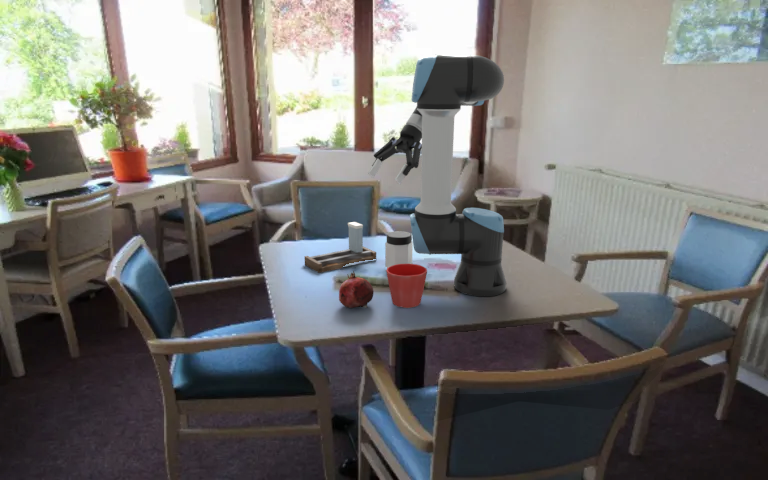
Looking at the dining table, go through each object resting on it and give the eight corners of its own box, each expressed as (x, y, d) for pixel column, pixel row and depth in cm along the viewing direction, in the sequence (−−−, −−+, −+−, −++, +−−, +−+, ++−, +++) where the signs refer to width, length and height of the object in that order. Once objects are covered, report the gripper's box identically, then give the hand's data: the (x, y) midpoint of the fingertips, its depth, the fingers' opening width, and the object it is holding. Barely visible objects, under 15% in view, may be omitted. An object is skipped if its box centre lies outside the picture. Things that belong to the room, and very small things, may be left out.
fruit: (378, 310, 131) (378, 275, 129) (343, 315, 128) (343, 279, 125) (367, 298, 140) (367, 264, 137) (334, 302, 136) (333, 268, 134)
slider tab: (355, 252, 175) (354, 221, 172) (363, 255, 171) (363, 224, 168) (348, 253, 174) (347, 222, 171) (356, 257, 170) (356, 226, 167)
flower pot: (389, 294, 142) (389, 262, 140) (427, 296, 141) (428, 263, 138) (383, 309, 132) (383, 274, 129) (425, 311, 131) (425, 276, 128)
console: (360, 253, 180) (360, 245, 179) (376, 260, 172) (376, 252, 171) (304, 264, 167) (304, 256, 167) (318, 273, 160) (318, 264, 159)
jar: (417, 270, 162) (417, 234, 159) (398, 275, 157) (398, 239, 154) (399, 263, 169) (399, 229, 166) (380, 268, 164) (380, 233, 161)
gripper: (445, 140, 170) (415, 191, 166) (395, 133, 187) (366, 179, 183) (435, 126, 165) (404, 178, 160) (384, 120, 182) (354, 167, 177)
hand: (383, 178), depth 172 cm, fingers open, 13 cm apart
